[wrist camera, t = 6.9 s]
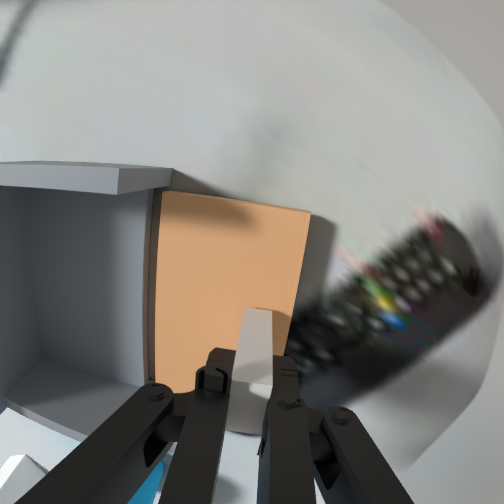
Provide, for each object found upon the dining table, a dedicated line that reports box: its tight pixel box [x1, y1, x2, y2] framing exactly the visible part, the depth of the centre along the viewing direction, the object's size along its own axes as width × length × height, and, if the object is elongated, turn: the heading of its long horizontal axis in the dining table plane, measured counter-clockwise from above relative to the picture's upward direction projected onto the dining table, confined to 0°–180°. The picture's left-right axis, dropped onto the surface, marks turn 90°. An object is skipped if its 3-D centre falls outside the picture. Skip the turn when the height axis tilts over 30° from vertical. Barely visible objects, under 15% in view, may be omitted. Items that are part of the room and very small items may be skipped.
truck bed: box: [0, 161, 173, 442], centre depth 15 cm, size 16×11×9 cm
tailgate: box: [155, 191, 311, 393], centre depth 19 cm, size 13×1×8 cm
